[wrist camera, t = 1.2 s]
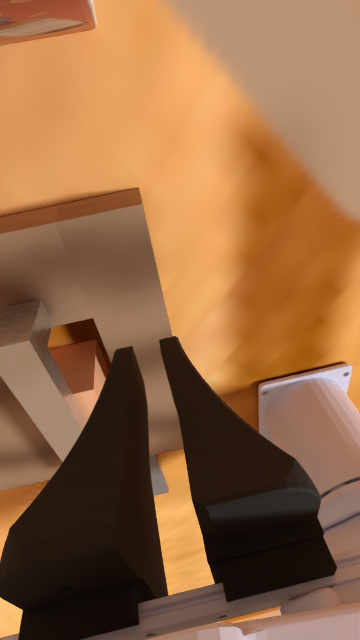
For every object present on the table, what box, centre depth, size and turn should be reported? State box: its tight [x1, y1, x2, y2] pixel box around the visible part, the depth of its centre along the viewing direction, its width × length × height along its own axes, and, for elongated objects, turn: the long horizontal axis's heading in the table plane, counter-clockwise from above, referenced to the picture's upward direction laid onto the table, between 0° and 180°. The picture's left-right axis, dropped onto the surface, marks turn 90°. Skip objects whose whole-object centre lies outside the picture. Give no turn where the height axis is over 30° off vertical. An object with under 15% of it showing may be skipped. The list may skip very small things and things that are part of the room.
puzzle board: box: [0, 188, 184, 491], centre depth 22 cm, size 20×16×2 cm
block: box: [49, 339, 109, 421], centre depth 22 cm, size 4×4×4 cm
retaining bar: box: [0, 300, 87, 462], centre depth 20 cm, size 15×2×3 cm, turn 9°
